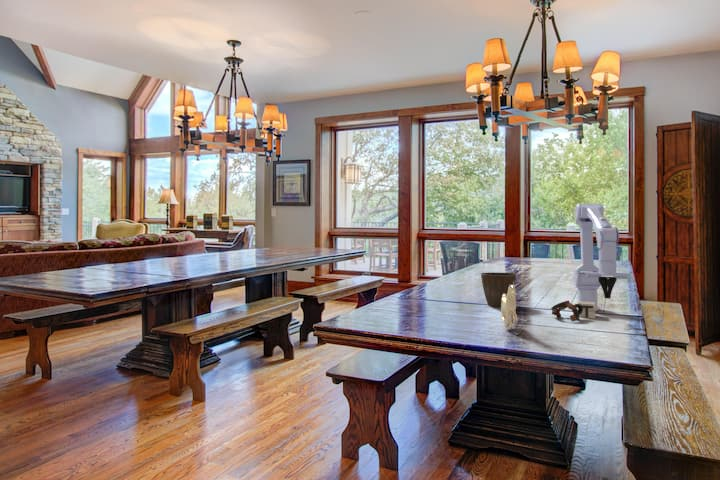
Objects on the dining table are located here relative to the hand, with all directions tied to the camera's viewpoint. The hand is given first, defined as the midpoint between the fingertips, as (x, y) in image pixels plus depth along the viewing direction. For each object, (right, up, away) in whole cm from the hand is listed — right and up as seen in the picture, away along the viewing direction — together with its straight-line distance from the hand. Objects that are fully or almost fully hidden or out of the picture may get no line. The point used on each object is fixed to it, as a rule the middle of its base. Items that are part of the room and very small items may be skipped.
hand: (607, 298), depth 178 cm
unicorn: (-38, -10, -6) cm, 40 cm away
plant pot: (-30, -10, +35) cm, 47 cm away
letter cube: (-1, -10, +14) cm, 17 cm away
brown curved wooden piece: (-9, -10, +8) cm, 16 cm away
